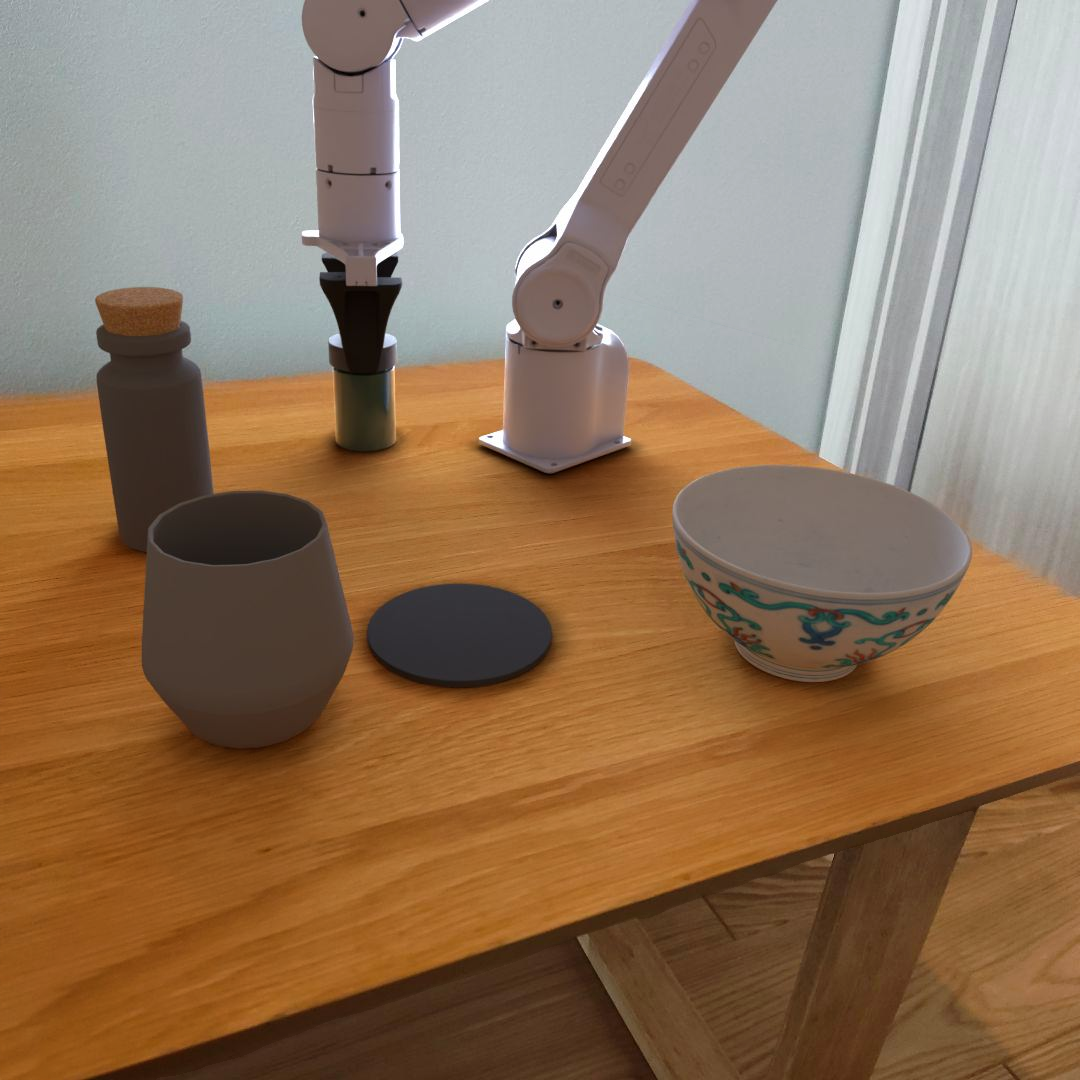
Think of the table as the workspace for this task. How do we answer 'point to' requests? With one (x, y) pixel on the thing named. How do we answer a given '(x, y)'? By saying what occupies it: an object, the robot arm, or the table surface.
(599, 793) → the table surface
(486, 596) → the coaster
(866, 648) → the chinaware
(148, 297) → the bottle
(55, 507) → the table surface
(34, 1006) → the table surface
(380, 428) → the spice jar
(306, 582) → the cup
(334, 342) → the cap
